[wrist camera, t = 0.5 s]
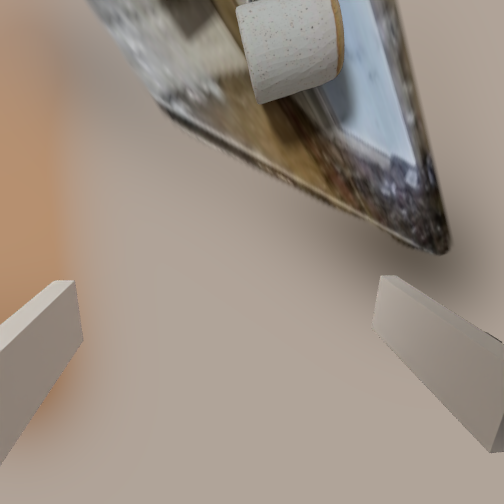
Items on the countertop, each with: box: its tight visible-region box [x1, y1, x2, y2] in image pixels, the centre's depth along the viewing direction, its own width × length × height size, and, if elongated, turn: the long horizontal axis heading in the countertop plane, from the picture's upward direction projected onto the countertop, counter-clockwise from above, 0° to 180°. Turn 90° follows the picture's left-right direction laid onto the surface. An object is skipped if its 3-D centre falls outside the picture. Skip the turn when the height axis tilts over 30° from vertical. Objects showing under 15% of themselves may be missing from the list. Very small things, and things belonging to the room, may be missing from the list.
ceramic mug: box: [236, 0, 344, 104], centre depth 26 cm, size 11×8×8 cm
